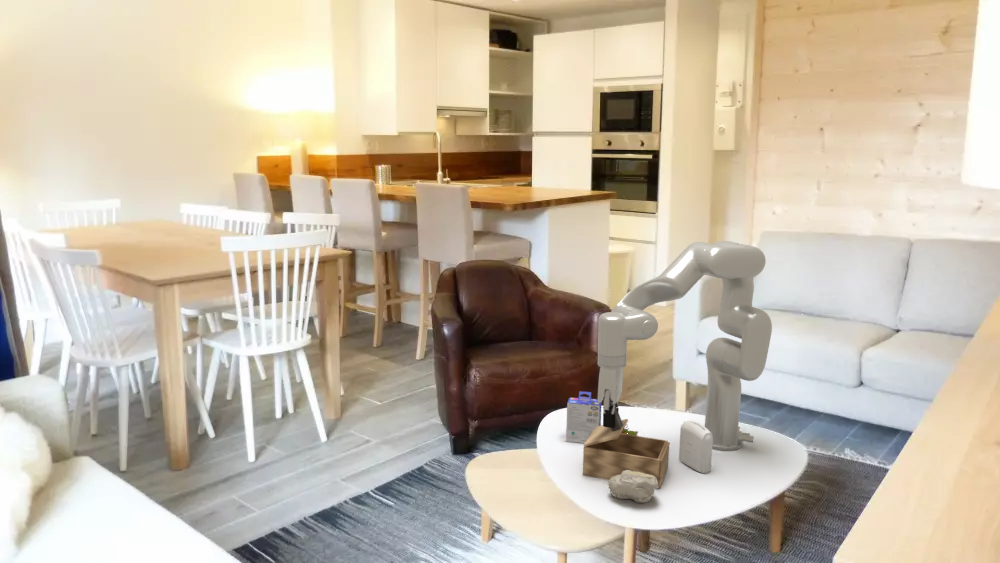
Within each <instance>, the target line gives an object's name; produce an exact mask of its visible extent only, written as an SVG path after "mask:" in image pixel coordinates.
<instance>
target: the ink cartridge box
mask: <svg viewBox="0 0 1000 563" xmlns="http://www.w3.org/2000/svg"><path fill="white" fill-rule="evenodd" d="M583 395H587V396H583ZM601 425H602V402H601V403H598V398H592V392H591V391H582V390H581V391H580V390H579V392H578V397H569V398H568V401H567V403H566V427H565V428H566V429H565V430H566V431H565V432H566V433H565V434H566V436H565V441H566V442H570V443H572V442H573V443H581V444H584V443H585V442H586V440H587V439H588V438H589V436H590V435H591V433H592V432H593V430H594V429H595V427H597V426H601Z"/></svg>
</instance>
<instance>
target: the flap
mask: <svg viewBox="0 0 1000 563" xmlns="http://www.w3.org/2000/svg"><path fill="white" fill-rule="evenodd" d="M609 406H610V407H611V408H612V405H609ZM617 408H618V407H616V405H615V410H614V413H615V414H616V415H615V428H609V427H604V426H603V424H601V426H597V427H595V429H594V430H593V432H592V433H591V435H590V436H589V438H588V439H587V440H586V442H585V443H583V448H584V447H585V446H589V445H593V444H597V443H601V442H605V441H609V440H613V439H617V438H618V437H619V435H620V434H621V432H622V430H623V429H625V428H626V426H627V425H628V422H629V419H628V418H625V419H622V418H621V416H620V413H619V410H617ZM602 409H604V406H603V407H602ZM625 425H626V426H625ZM624 427H625V428H624Z"/></svg>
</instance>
